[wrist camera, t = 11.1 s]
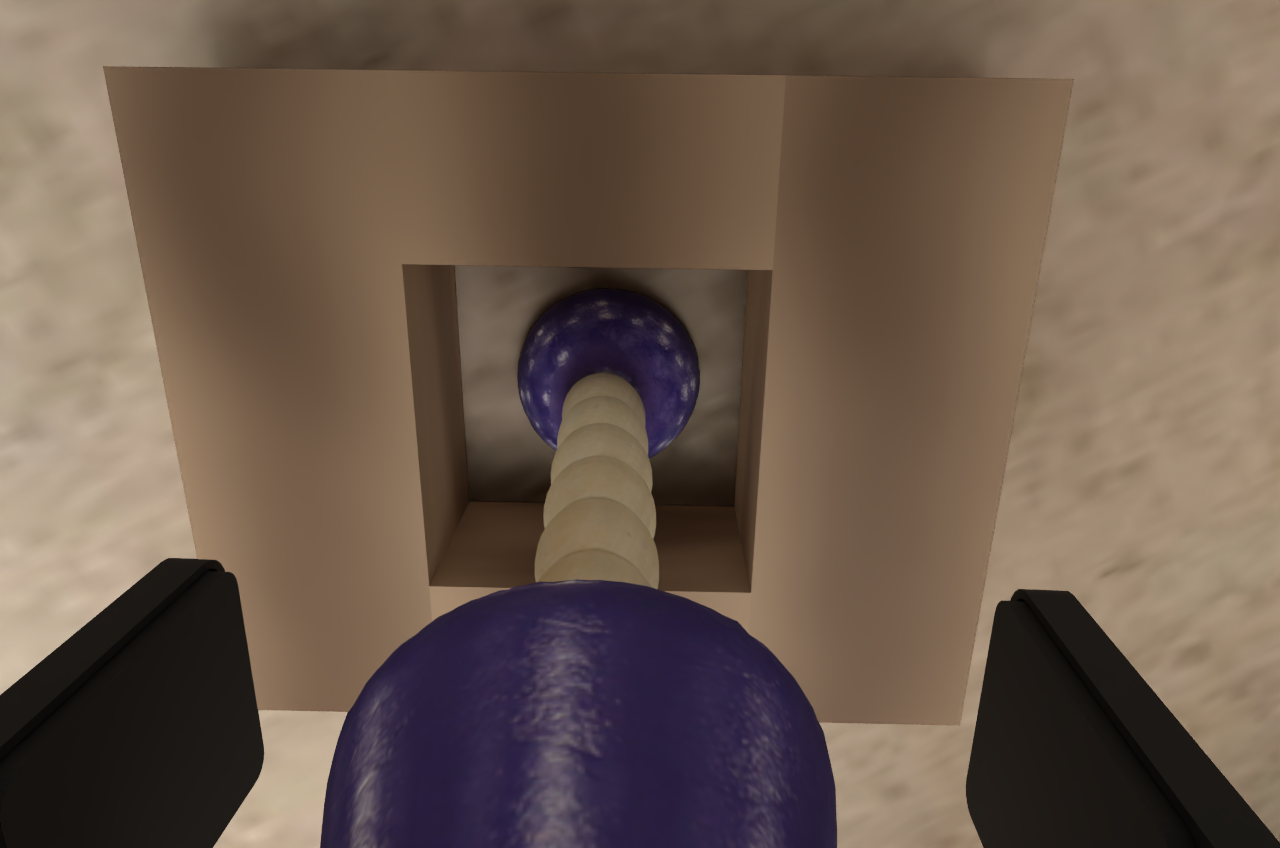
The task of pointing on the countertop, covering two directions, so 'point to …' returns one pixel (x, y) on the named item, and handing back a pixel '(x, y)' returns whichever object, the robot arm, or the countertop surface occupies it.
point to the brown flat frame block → (594, 237)
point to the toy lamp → (587, 654)
